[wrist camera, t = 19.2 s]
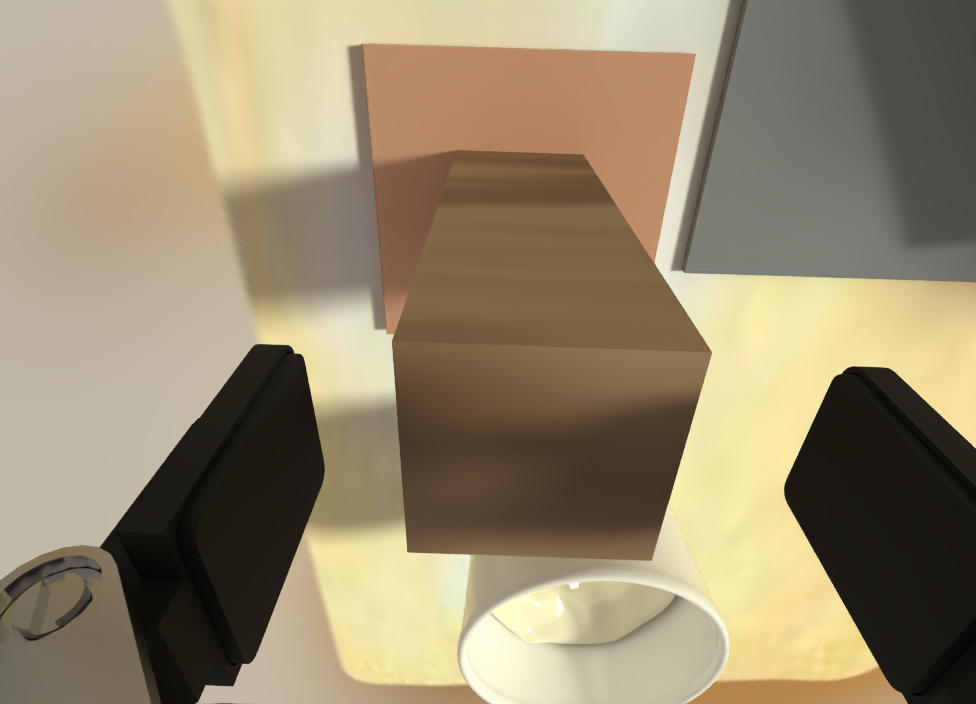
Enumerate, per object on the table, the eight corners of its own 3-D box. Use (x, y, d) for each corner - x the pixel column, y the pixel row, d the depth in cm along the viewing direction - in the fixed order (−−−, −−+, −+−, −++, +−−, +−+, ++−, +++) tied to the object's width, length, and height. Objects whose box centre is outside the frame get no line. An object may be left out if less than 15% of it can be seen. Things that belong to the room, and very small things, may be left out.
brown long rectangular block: (457, 150, 21) (391, 341, 8) (583, 154, 21) (712, 352, 8) (457, 268, 24) (407, 552, 11) (569, 272, 24) (651, 560, 11)
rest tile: (366, 43, 20) (362, 43, 19) (690, 53, 20) (695, 53, 19) (389, 327, 26) (386, 333, 26) (635, 335, 26) (638, 341, 26)
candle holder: (560, 334, 26) (598, 533, 16) (687, 438, 29) (787, 659, 19) (435, 448, 30) (402, 666, 20) (560, 528, 33) (586, 751, 23)
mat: (797, -235, 16) (804, -240, 16) (1236, -221, 16) (1252, -227, 16) (682, 269, 24) (684, 272, 24) (970, 278, 24) (976, 281, 24)
